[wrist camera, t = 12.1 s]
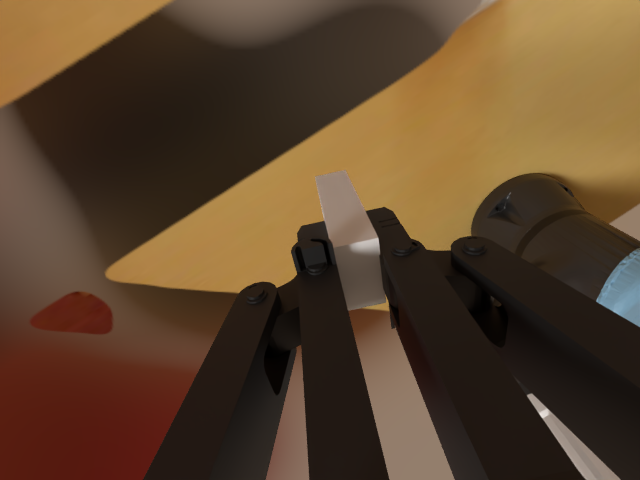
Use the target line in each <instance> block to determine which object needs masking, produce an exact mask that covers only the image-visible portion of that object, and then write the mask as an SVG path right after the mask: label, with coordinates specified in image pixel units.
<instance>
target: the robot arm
mask: <svg viewBox="0 0 640 480" xmlns="http://www.w3.org/2000/svg"><path fill="white" fill-rule="evenodd" d="M315 179H316V184H317V189H318V193H319V198H320V203H321V207H322V212H323V217H324V221H322V222H318V223H313V224H308V225H304V226H301V228H300V229H299V231H298V233H297V237H298V242H297V243H296V244H295V245H294V246H293V247H292V250H291V254H292V257H293V260H294V264H295V267H296V271H297V275H296V277H295V278H294V279H293V280H291V281H290V282H288V283H286V284H285V285H282V286H280V287H278V288H276V286H275V285H274V284H272V283H270V282H259V283H254V284H252V285H250V286H247V287H246V288H245V289H243V290H242V291H241V292H240V293H239V294H238V296H237V297H236V299H235V301H234V303H233V305H232V307H231V309H230V311H229V313H228V315H227V317H226V319H225V321H224V323H223V325H222V326H221V328H220V330H219V332H218V334H217V336H216V338H215V340H214V342H213V344H212V346H211V348H210V350H209V352H208V354H207V356H206V358H205V360H204V362H203V364H202V366H201V368H200V369H199V372H198V373H197V375H196V377H195V379H194V381H193V383H192V385H191V387H190V389H189V391H188V393H187V395H186V397H185V399H184V401H183V403H182V405H181V407H180V409H179V411H178V412H177V415H176V416H175V418H174V420H173V422H172V424H171V426H170V428H169V430H168V432H167V434H166V436H165V438H164V440H163V442H162V444H161V446H160V448H159V450H158V452H157V454H156V456H155V457H154V460H153V462H152V463H151V465H150V467H149V470H148V471H147V473H146V475H145V477H144V479H143V480H265V479H266V476H267V471H268V467H269V463H270V459H271V455H272V451H273V447H274V443H275V438H276V434H277V430H278V426H279V422H280V418H281V414H282V410H283V405H284V401H285V397H286V393H287V389H288V385H289V381H290V376H291V372H292V368H293V364H294V360H295V356H296V347H297V346H299V345H301V347H302V364H303V381H304V398H305V413H306V431H307V445H308V446H307V447H308V464H309V480H389V476H388V472H387V468H386V464H385V460H384V456H383V452H382V448H381V444H380V439H379V436H378V431H377V428H376V423H375V419H374V415H373V411H372V407H371V403H370V398H369V394H368V390H367V386H366V382H365V378H364V374H363V370H362V366H361V362H360V358H359V354H358V349H357V345H356V342H355V337H354V333H353V329H352V325H351V321H350V317H349V313H348V311H349V310H353V309H358V308H363V307H367V306H372V305H377V304H382V303H386V297H385V294H386V296H387V299H388V301H389V310H390V319H391V327H392V329H393V328H395V327H396V330H397V332H398V335H399V337H400V340H401V343H402V345H403V348H404V350H405V353H406V355H407V358H408V361H409V363H410V366H411V368H412V371H413V374H414V376H415V378H416V381H417V384H418V386H419V389H420V391H421V394H422V397H423V399H424V402H425V404H426V407H427V409H428V412H429V414H430V417H431V420H432V422H433V425H434V427H435V430H436V432H437V435H438V438H439V440H440V443H441V445H442V448H443V450H444V453H445V456H446V458H447V461H448V463H449V466H450V468H451V471H452V474H453V476H454V479H455V480H640V241H638V240H637V239H635V238H633V237H631V236H629V235H628V234H626V233H624V232H622V231H620V230H618V229H617V228H615V227H613V226H611V225H609V224H608V223H606V222H604V221H602V220H600V219H598V218H597V217H595V216H593V215H591V214H590V213H588V212H586V211H585V209H584V208H583V207H582V205H581V204H580V203H579V202H578V200H577V199H576V198H575V197H574V195H573V194H572V192H571V191H570V189H569V188H568V187H567V186H566V185H564V184H563V183H561V182H560V181H558V180H556V179H554V178H552V177H550V176H547V175H544V174H526V175H522V176H518V177H515V178H513V179H511V180H509V181H507V182H505V183H503V184H502V185H500V186H499V187H497V188H496V189H495V190H493V191H492V192H491V193H490V194H489V195H488V196H487V197H486V198H485V200H484V201H483V202H482V203H481V205H480V206H479V208H478V210H477V211H476V214H475V216H474V218H473V222H472V227H471V235H472V236H467V237H463V238H459V239H457V240H456V241H454V242H453V243H452V245H451V251H433V250H426V249H425V247H424V246H423V245H422V244H421V243H420V242H419V241H416V240H413V239H411V238H410V237H409V235H408V234H407V232H406V231H405V229H404V228H403V226H402V225H401V224H400V222H399V220H398V219H397V217H396V215H395V214H394V212H393V211H391V210H389V209H387V208H385V207H382V208H378V209H373V210H369V211H365V209H364V207H363V205H362V203H361V201H360V199H359V197H358V195H357V193H356V191H355V189H354V187H353V185H352V183H351V181H350V179H349V177H348V175H347V173H346V171H345V170H343V171H339V172H334V173H330V174H325V175H320V176H316V177H315Z"/></svg>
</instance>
